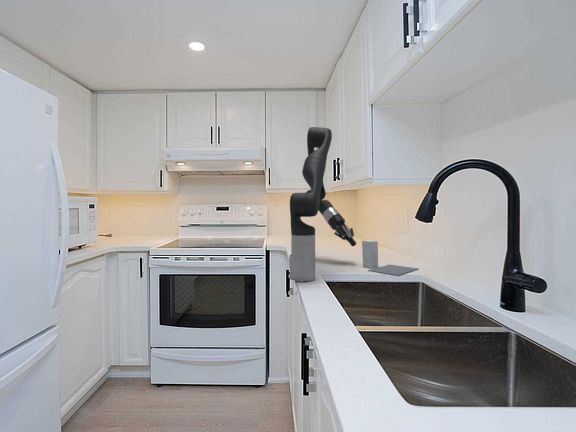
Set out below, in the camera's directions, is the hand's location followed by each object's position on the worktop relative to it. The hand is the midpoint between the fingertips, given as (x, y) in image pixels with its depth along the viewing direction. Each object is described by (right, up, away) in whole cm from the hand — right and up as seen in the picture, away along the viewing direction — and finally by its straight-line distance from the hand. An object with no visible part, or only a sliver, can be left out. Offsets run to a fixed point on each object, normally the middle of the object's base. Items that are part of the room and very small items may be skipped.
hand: (354, 245), depth 159 cm
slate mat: (+14, -10, -13) cm, 21 cm away
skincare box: (+6, -10, -5) cm, 13 cm away
